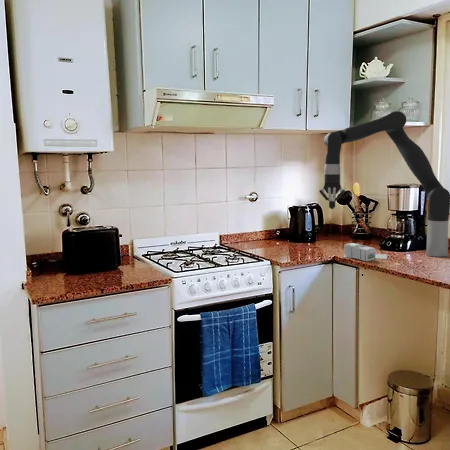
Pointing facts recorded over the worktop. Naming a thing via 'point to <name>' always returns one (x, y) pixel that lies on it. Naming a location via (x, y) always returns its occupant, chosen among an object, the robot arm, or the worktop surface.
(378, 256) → the grey mat
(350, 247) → the syrup box
